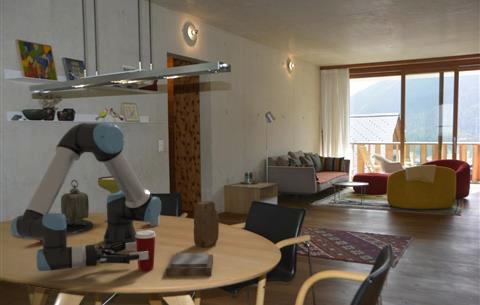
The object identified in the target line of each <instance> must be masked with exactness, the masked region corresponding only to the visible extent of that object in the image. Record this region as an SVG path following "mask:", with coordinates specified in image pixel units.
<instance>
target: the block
mask: <svg viewBox="0 0 480 305" xmlns="http://www.w3.org/2000/svg"><path fill="white" fill-rule="evenodd" d="M193 213H194V214H193V241H194V245H195V246H197V247H200V248H209V246H210V247H212V246H215V245H216V244H217V241H218V239H219V235H220V234H219V232H220V231H219V229H220V226H219V225H220V223H219V222H220V221H219V214H218V211H217V209H216V203H215V201H212V200H203V201H198V202H196V203H194V211H193Z"/></svg>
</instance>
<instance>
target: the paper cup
mask: <svg viewBox="0 0 480 305" xmlns="http://www.w3.org/2000/svg"><path fill="white" fill-rule="evenodd" d="M156 236H157V234H156V233H155V231H154V230H139V231H136V235H135V237H136V245H137V250H136V252H144V251H148V259H144V260H137V268H138V271H140V272H144V273H145V272H151V271H153V270H154V266H155V248H156V245H155V244H156Z"/></svg>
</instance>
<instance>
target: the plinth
mask: <svg viewBox="0 0 480 305" xmlns="http://www.w3.org/2000/svg"><path fill="white" fill-rule="evenodd" d="M213 265H214V254H210V253H209V252H208V253H207V252H198V253H197V252H196V253H195V252H193V253H192V252H191V253H190V252H187V253H186V252H185V253H180V252H179V253H178V252H175V254H172V255H171V257H170V260H169V262H168V263H167V266H166V270H165V271H166V277H212V272H213Z"/></svg>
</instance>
